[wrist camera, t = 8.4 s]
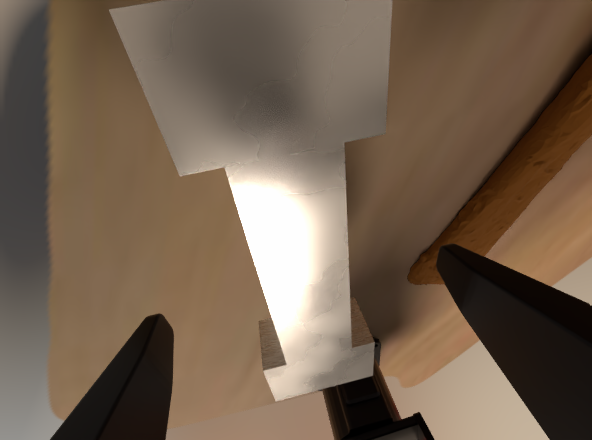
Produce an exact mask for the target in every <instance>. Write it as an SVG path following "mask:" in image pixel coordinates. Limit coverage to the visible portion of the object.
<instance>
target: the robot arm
mask: <svg viewBox="0 0 592 440" xmlns="http://www.w3.org/2000/svg"><path fill="white" fill-rule="evenodd" d="M436 267H437V270H438V272H439V274H440V276H441V278H442V279H443V281H444V283H445V285H446V287H447V288H448V290H449V292H450V294H451V296H452V297H453V299H454V301H455V303H456V305H457V306H458V308H459V310H460V311H461V313H462V314H463V316H464V317H465V319H466V320H467V322H468V323H469V325H470V326H471V327H472V329H473V330H474V332H475V333H476V335H477V336H478V337H479V339H480V340H481V342H482V343H483V345H484V346H485V348H486V349H487V350H488V352H489V353H490V355H491V356H492V357H493V359H494V360H495V362H496V363H497V365H498V366H499V368H500V369H501V370H502V372H503V373H504V375H505V376H506V378H507V379H508V380H509V382H510V383H511V385H512V386H513V388H514V389H515V391H516V392H517V393H518V395H519V396H520V398H521V399H522V401H523V402H524V403H525V405H526V406H527V408H528V409H529V411H530V412H531V413H532V415H533V416H534V418H535V419H536V420H537V422H538V423H539V425H540V426H541V428H542V429H543V431H544V432H545V433H546V435H547V436H548V438H549V439H550V440H592V306H590V304H588V303H586V302H584V301H582V300H580V299H577V298H575V297H573V296H570V295H568V294H566V293H564V292H562V291H560V290H557V289H555V288H553V287H551V286H548V285H546V284H544V283H542V282H539V281H537V280H535V279H533V278H531V277H528V276H526V275H524V274H522V273H519V272H517V271H515V270H513V269H510V268H508V267H506V266H504V265H502V264H499V263H497V262H495V261H493V260H490V259H488V258H486V257H484V256H481V255H479V254H477V253H475V252H473V251H470V250H468V249H466V248H464V247H461V246H459V245H457V244H454V243H450V244H446V245H442V246H441V247H440V248H439V252H438V256H437V261H436ZM374 342H375V346H374V365H373V376H370V377H366V378H362V379H358V380H355V381H351V382H347V383H343V384H340V385H336V386H332V387H328V388H325V389H321V390H318V391H323V395H324V399H325V403H326V407H327V411H328V416H329V420H330V424H331V428H332V432H333V436H334V440H434V438H433V436H432V434H431V432H430V430H429V429H428V427H427V425H426V423H425V421H424V419H423V417H422V416H421V414H420V412H418V413H415V414H413V416H411V417H408V418H405V419H401V417H400V415H399V412H398V410H397V408H396V405H395V403H394V401H393V398H392V396H391V394H390V391H389V389H388V386H387V384H386V382H385V379H384V377H383V375H382V372H381V370H380V368H379V363H380V348H381V344H380V342H379V339H374ZM173 348H174V333H173V329H172V327H171V326H170V324H169V323H168V321H167V320H166V319H165V317H164V316H163V315H162V314H155V315H151V316H148V317H146V318H145V319H144V320H143V322H142V323H141V324H140V325H139V327H138V328H137V329H136V331H135V332H134V333H133V334H132V336H131V337H130V338H129V340H128V341H127V342H126V343H125V345H124V346H123V347H122V348H121V350H120V351H119V352H118V354H117V355H116V356H115V357H114V359H113V360H112V361H111V362H110V364H109V365H108V366H107V368H106V369H105V370H104V371H103V373H102V374H101V375H100V376H99V378H98V379H97V380H96V382H95V383H94V384H93V385H92V387H91V388H90V389H89V390H88V392H87V393H86V394H85V396H84V397H83V398H82V399H81V401H80V402H79V403H78V405H77V406H76V407H75V408H74V410H73V411H72V412H71V413H70V415H69V416H68V417H67V419H66V420H65V421H64V423H63V424H62V425H61V426H60V428H59V429H58V430H57V431H56V433H55V434H54V435H53V436H52V438H51V439H50V440H165V439H166V432H167V424H168V417H169V409H170V401H171V394H172V384H173Z"/></svg>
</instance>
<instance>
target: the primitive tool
mask: <svg viewBox="0 0 592 440" xmlns="http://www.w3.org/2000/svg"><path fill="white" fill-rule="evenodd" d="M591 135H592V54H591V55H590V56H589V57H588V58H587V59H586V60H585V62H584V63H583V64H582V66H581V67H580V68H579V69H578V70H577V71H576V72H575V74H574V75H573V77H572V78H571V80H570V81H569V82H568V83H567V85H566V86H565V87H564V88H563V89H562V90H561V91H560V92H559V94H558V96H557V97H556V98H555V99H554V101H553V102H552V103H551V104H550V105H549V106H548V107H547V108H546V109H545V110H544V111H543V112H542V114H541V115H540V117H539V119H538V120H537V121H536V123H535V124H534V125H533V127H532V128H531V129H530V130H529V131H528V132H527V133H526V135H525V136H524V137H523V138H522V139H521V140H520V141H519V142H518V144H517V145H516V146H515V147H514V148H513V150H512V152H511V153H510V154H509V155H508V156H507V157H506V159H505V160H504V161H503V162H502V164H501V165H500V166H499V167H498V168H497V169H496V171H495V172H494V174H492V175H491V177H490V178H489V179H488V181H487V182H486V183H485V184H484V186H483V187H482V188H481V189H480V190H479V191H478V193H477V194H476V195H475V196H474V197H473V198H472V199H471V200H470V201H469V202H468V203H467V205H466V207H465V208H464V209H462V210H461V211H460V212H459V215H458V216H457V217H456V218H455V219H454V221H453V222H452V224H451V225H450V226H449V227H448V228H447V229H446V230H445V231H444V232H443V233H442V234H441V236H440V237H439V238H438V239H437V240H436V242H435V243H434V244H433V245H432V246H431V247H430V248H429V249H428V250H427V251H426V252H425V253H423V254H422V255H420V259H419V260H418V262H416V263H415V264H414V265H413V266H412V267H411V269H410V273H409V274H408V281H409V282H410V283H413V284H415V285H418V284H419V285H421V284H426V285H427V284H445V283H444V281H443V279H442V278H441V276H440V274H439V272H438V270H437V267H436V261H437V256H438V252H439V248H440V247H441V246H442V245H446V244H450V243H454V244H457V245H459V246H461V247H464V248H466V249H468V250H470V251H473V252H475V253H477V254H479V255H481V256H485V255H486V254H487V253H488V251H489V250H490V249H491V248H492V247H493V245H494V244H495V243H496V242H497V241H498V239H499V238H500V237H501V236H502V235H503V234H504V233H505V232H506V230H507V229H508V228H509V227H510V226H511V225H512V224H513V222H514V221H515V220H516V219H517V218H518V217H519V216H520V214H521V213H522V212H523V211H524V210H525V209H526V207H527V206H528V205H529V203H530V202H531V201H532V200H533V199H534V197H535V196H536V195H537V194H538V193H539V192H540V191H541V190H542V188H543V187H544V186H545V185H546V184H547V183H548V182H549V181H550V180H551V179H552V178H553V177H554V176H555V175H556V174H557V173H558V172H559V171H560V170H561V169H562V167H563V165H564V164H565V163H566V162H567V161H568V160H569V158H570V157H571V155H572V154H573V153H574V152H575V151H576V150H578V148H579V147H580V146H581V145H582V144H583V143H584V142H585V141H586V140H587V139H588V138H589V137H590V136H591Z"/></svg>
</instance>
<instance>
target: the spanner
mask: <svg viewBox="0 0 592 440" xmlns="http://www.w3.org/2000/svg"><path fill="white" fill-rule="evenodd" d="M109 12H110V14H111V16H112V19H113V21H114V23H115V26H116V28H117V30H118V33H119V35H120V37H121V40H122V42H123V44H124V47H125V49H126V51H127V54H128V56H129V58H130V61H131V63H132V65H133V68H134V70H135V72H136V75H137V77H138V79H139V82H140V84H141V87H142V89H143V91H144V94H145V96H146V98H147V101H148V103H149V105H150V108H151V110H152V112H153V115H154V117H155V119H156V122H157V124H158V126H159V129H160V131H161V133H162V136H163V138H164V140H165V143H166V145H167V147H168V150H169V152H170V154H171V157H172V159H173V161H174V164H175V166H176V168H177V171H178V173H179V175H180V176H184V175H189V174H194V173H199V172H204V171H208V170H213V169H218V168H223V167H225V170H226V174H227V177H228V180H229V183H230V186H231V189H232V193H233V196H234V199H235V202H236V205H237V208H238V212H239V215H240V218H241V221H242V224H243V227H244V231H245V234H246V237H247V240H248V243H249V247H250V250H251V253H252V256H253V259H254V262H255V266H256V269H257V272H258V275H259V278H260V281H261V285H262V288H263V291H264V294H265V297H266V300H267V304H268V307H269V310H270V313H271V316H272V318H269V319H265V320H261V321H259V331H260V342H261V353H262V365H263V372H264V374H265V377H266V379H267V381H268V384H269V386H270V388H271V391H272V393H273V395H274V398H275V400H276V401H280V400H283V399H287V398H291V397H295V396H298V395H302V394H306V393H310V392H313V391H317V390H321V389H325V388H328V387H332V386H336V385H340V384H343V383H347V382H351V381H355V380H358V379H362V378H366V377H370V376H373V365H374V346H375V342H374V339H373V337H372V335H371V333H370V330H369V328H368V326H367V324H366V322H365V319H364V317H363V315H362V313H361V310H360V308H359V306H358V304H357V301H356V299H355V298H351V299H350V282H349V255H348V228H347V201H346V174H345V147H344V142H349V141H354V140H359V139H364V138H368V137H373V136H378V135H383V134H385V133H386V114H387V95H388V75H389V56H390V37H391V17H392V0H164V1H158V2H152V3H146V4H140V5H134V6H128V7H121V8H115V9H109Z"/></svg>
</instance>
